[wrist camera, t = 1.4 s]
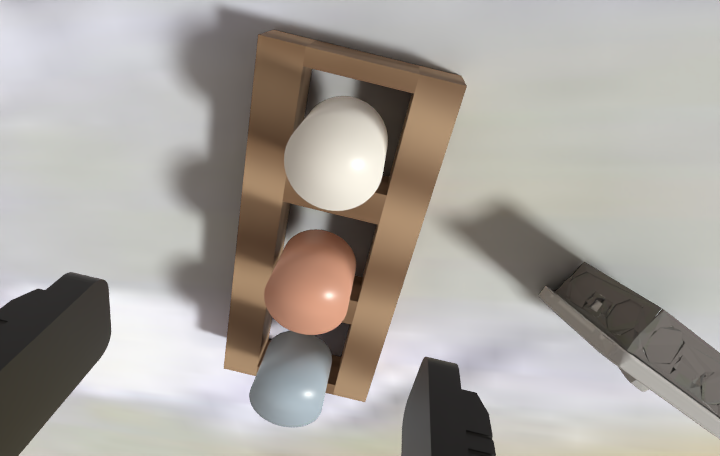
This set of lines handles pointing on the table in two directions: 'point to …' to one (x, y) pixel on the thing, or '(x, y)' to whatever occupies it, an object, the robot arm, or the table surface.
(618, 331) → the electrical switch
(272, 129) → the wooden egg rack
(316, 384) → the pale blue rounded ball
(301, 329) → the pink rounded piece
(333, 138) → the white egg
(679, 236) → the table surface
